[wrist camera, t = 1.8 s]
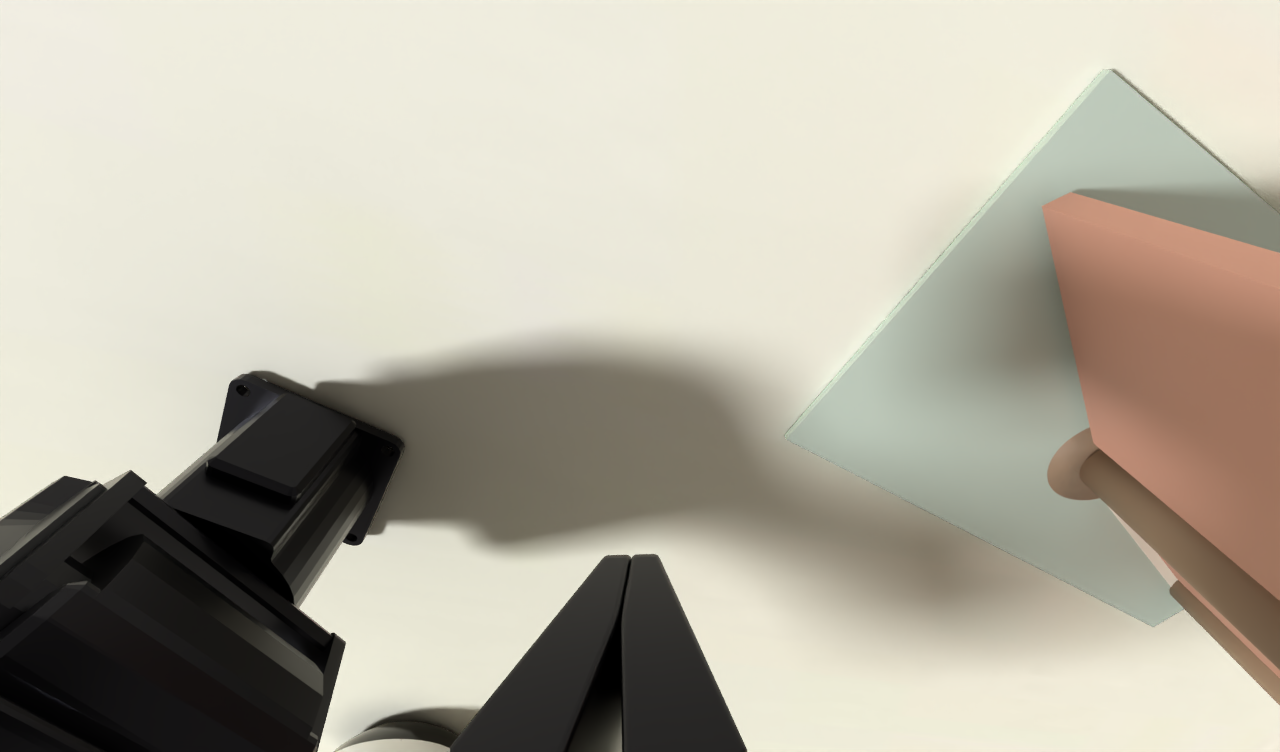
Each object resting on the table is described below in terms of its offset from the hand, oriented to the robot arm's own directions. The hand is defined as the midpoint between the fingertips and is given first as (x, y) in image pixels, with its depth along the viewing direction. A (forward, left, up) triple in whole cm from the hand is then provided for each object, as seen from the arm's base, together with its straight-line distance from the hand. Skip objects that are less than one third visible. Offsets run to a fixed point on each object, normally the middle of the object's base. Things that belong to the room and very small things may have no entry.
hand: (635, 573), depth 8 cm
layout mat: (+5, -19, -12) cm, 23 cm away
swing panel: (+6, -14, -11) cm, 19 cm away
